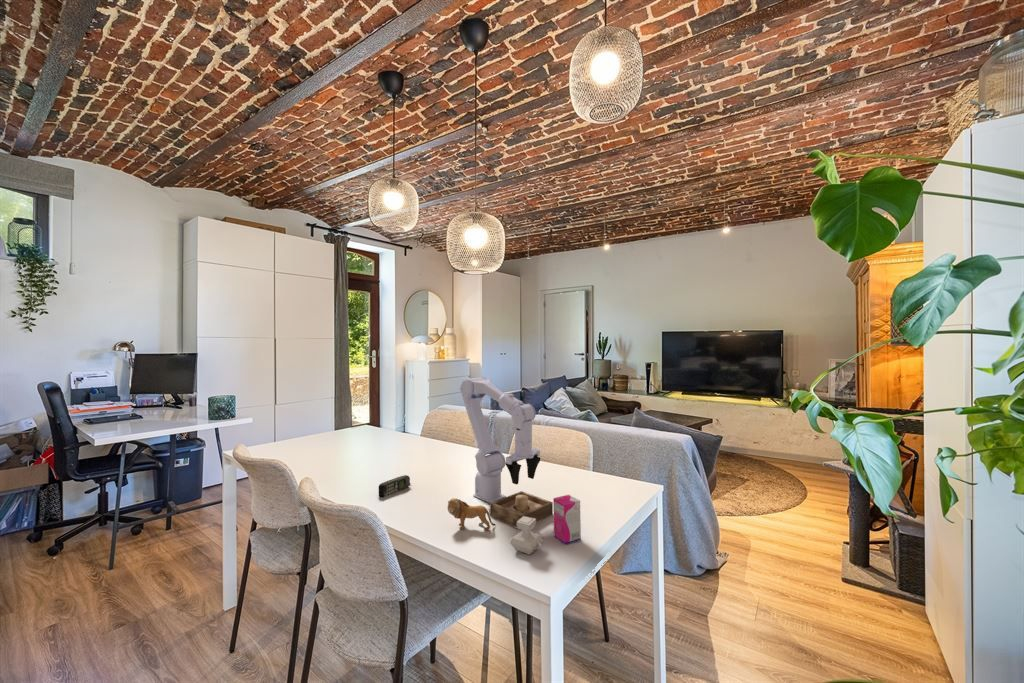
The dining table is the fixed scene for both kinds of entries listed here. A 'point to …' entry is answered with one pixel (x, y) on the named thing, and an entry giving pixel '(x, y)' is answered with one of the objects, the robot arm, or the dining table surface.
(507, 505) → the walnut box
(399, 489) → the mobile phone
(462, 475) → the dining table surface
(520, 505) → the oak dowel
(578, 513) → the supplement box
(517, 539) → the stamp
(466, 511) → the tan animal figurine
